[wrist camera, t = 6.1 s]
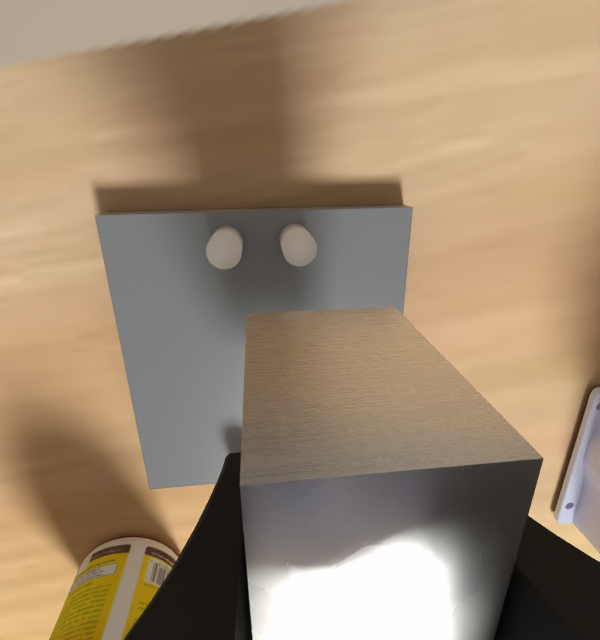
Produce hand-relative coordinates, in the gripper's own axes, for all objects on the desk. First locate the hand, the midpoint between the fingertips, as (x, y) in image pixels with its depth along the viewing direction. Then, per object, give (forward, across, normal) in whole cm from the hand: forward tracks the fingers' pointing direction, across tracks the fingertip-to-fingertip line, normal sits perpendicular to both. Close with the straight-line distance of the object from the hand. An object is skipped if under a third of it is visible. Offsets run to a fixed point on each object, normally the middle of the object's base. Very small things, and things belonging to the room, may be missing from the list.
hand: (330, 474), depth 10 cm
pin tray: (+8, +1, 0) cm, 9 cm away
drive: (+2, 0, 0) cm, 2 cm away
